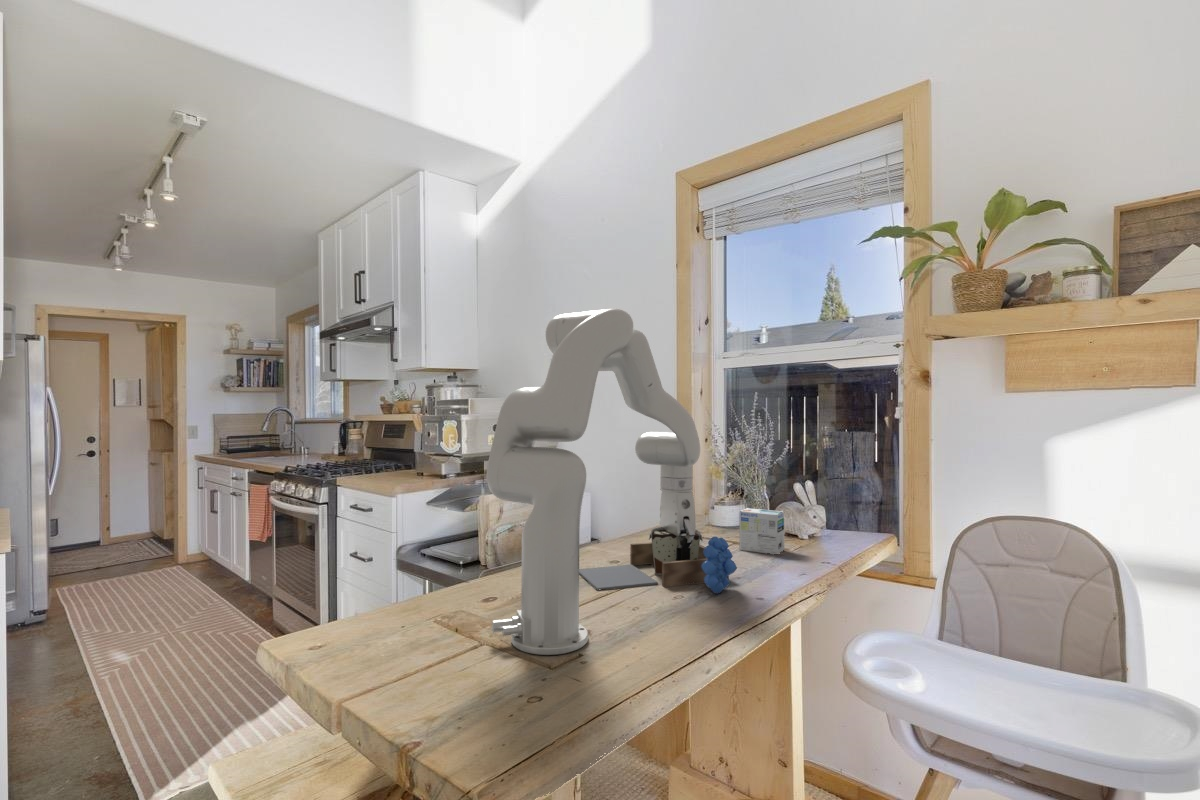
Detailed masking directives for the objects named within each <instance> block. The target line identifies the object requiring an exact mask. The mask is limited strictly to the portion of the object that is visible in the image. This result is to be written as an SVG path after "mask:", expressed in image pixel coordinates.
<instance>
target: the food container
mask: <svg viewBox="0 0 1200 800" xmlns="http://www.w3.org/2000/svg"><path fill="white" fill-rule="evenodd" d="M650 531H651V532H650V533H649V537H648V540H649V541H650V540H651V542H652V549H653V559H654V563H653V566H654V567H653V568H654V575H655V576H657V575H659V576H662V562H672V561H676V548H678V543H677V537H676V535H674V534H672V533H670V532H668V531H665V530H664V529H663V527H661V526H660V527H655V528H653V529H651V530H650ZM680 533H681V534H683V533H685V532H680ZM683 538H685V537H681V540H683ZM703 541H704V540H703V535H702V534H701V531H700V530H698V529H696V532H695V536H694V538H693V540H692V543H691V548H690V560H694V559H698V552H699V544H700V542H703ZM700 545H701V544H700Z"/></svg>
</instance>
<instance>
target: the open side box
mask: <svg viewBox="0 0 1200 800" xmlns="http://www.w3.org/2000/svg"><path fill="white" fill-rule="evenodd" d="M705 547H706V546H704V545H702V544H699V552H698V559H694V560H683V561H672V562H662V575H661V586H662V587H664V588H665V587H667V588H668V587H675V586H686V585H695V584H705V581H704V578H705V576H706V575H707V574H705V573H704V571H703V570H702V567H701V565H702V563H703V562H704V561H706V560H708V559H707V558H706V557H705V556H704V553H703V550H704V548H705ZM629 555H630V563H629V565H633V566H639V565H650V564H651V565H652V564H653V565H654V559H653V549H652V541H651V542H637V543H630V554H629ZM727 578H728V580H729V581H730V575H729V576H727Z"/></svg>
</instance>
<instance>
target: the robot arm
mask: <svg viewBox="0 0 1200 800" xmlns="http://www.w3.org/2000/svg"><path fill="white" fill-rule="evenodd" d="M645 335H646V334H644V333H643V332H642V331H640V330H637V329H635V328H634V321H633V318H632V316H631V315H630V314H629V313H628V312H627V311H625V310H623V309H621V308H607V309H606V308H605V309H598V310H597V309H596V310H595V309H594V310H587V311H581V312H580V311H579V312H578V311H577V312H571V313H569V312H568V313H563V314H559V315H556V316H554V317H552V319H550V321H549V322H548V324H547V326H546V328H545V342H546V344H547V346H548V349H549V350H550V351H551V353H552V356H551V359H550V363H549V368H548V371H547V374H546V378H545V381H544V382H543V385H541V386H529V387H528V386H527V387H521V388H518V389H515V390H513V391H512V392H510V394H509V395H507V397H506V398H505V400H504V402H503V403H502V406H501V407H500V411H499V414H498V418H497V421H496V422H497V423H496V427H495V430H494V435H493V439H492V443H491V448H490V451H489V457H488V462H487V467H486V483H487V486H488V489H489V491H490V493H491V494H492V495H493V496H494V497H495V498H498V499H499V500H502V501H506V502H513V503H519V504H520V503H521V504H527V505H533V508H532V510H531V512H530V514H529V515H528V517H527V519H526V521H525V523H524V525H523V528H522V532H521V533H522V534H521V587H520V588H521V589H520V590H521V591H520V595H521V596H520V597H521V599H520V602H521V603H520V609H516V615H513V616H510V618H506V619H504V618H499V619H492V620H491V631H492V633H499V632H501V635H502V636H503V637H505V636H511V637H510V638H511V639H510V640H511V643H512V645H513V647H515V648H516V649H518V650H520V651H521V652H525V653H529V654H532V655H540V656H541V655H542V656H543V655H544V656H553V655H554V656H555V655H563V654H567V653H571V652H574V651H577V650H579V649H582V647H584V646H585V645H586V644H587V643H588V640H589V632H588V630H587V628H586V627H584V626H583V625H582V624H581V623H580V575H579V569H580V540H581V539H580V531H581V529H580V528H581V527H580V526H581V525H580V524H581V516H582V515H581V514H582V513H581V512H582V506H583V499H584V496H585V495H584V494H585V489H586V485H587V484H586V483H587V470H586V466H585V463H584V461H583V460H582V458H581V457H580V456H579V455H577V453H575V452H573V451H572V450H567V449H564V448H556V447H541V446H540V447H539V446H535V443H536V442H547V443H548V442H549V443H550V442H552V443H570V442H576V441H578V440H579V439H581V438H582V437H583V436H584V434H585V432H586V430H587V427H588V423H589V419H590V413H591V408H592V404H593V398H594V393H595V388H596V383H597V377H598V375H599V372H613V373H614V376H615V378H616V381H617V383H618V386H619V388H620V391H621V394H622V395H621V396H623V400H624V402H625V404H626V405H627V407H629V408H630V409H631V410H632V411H635V412H636V413H639V414H641V415H644V416H645V417H647V418H650V419H653V420H655V421H657V422H659V423H661V424H663V425H664V426H666V427H667V428H669V430H670V431H654V430H653V431H647V432H644V433H642V434H641V435H640V436H639V437H638V438H637V440H636V442H635V454H636V457H637V459H638V460H639V461H641V463H644V464H646V465H650V466H651V465H652V466H660V473H659V474H660V476H659V477H660V485H659V486H660V492H661V493H660V507H659V508H660V509H659V526H660V527H663V529H664V530H665V531H668V532H670V533H672V534H674V535H676V537H677V543H678V548H676V561H683V560H690V548H691V543H692V540H693V538H694V536H695V532H696V530H697V529H696V528H697V527H696V507H695V498H694V493H693V490H694V489H693V486H694V484H693V483H694V482H693V481H694V480H693V478H694V476H693V475H694V474H693V472H694V469H693V468H694V465H695V464H696V463H697V462H698V461H699V459H700V456H701V443H700V438H699V434H698V431H697V427H696V424H695V421H694V419H693V417H692V415H691V414H690V412H689V411H688V409H686V408H685V407H684V405H682V404H681V403H680V402H679V401H678V400H677V399H676V398H674V397H673V395H671V394H670V393H668V392H667V391H666V390H665V388H663V384H662V382H661V379H660V376H659V372H658V369H657V365H656V362H655V359H654V356H653V353H652V351H651V346H650V344H649V341H648V339H647V337H646V336H645ZM680 532H685V533H683V534H681V533H680ZM681 537H685V538H683V540H681Z"/></svg>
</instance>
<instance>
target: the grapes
mask: <svg viewBox="0 0 1200 800" xmlns="http://www.w3.org/2000/svg"><path fill="white" fill-rule="evenodd" d="M707 544H708V545H707V546H704V547H705V548H704V550H703V553H704V556H705V557H706V558H707V559H708V560H706V561H704V562H703V563H702V565H701V567H702V570H703V571H704V573H705V574H707V575H706V576H705V578H704V581H705V583H704V584H705V586H707V587H708V588H709V589H711V591H712V592H713V593H714V594H720V593H721V592H723V590H724V589H726V588H727V587H728V586H729V585H730V584H731V582H730V579H729V580H728V578H727V576H729V577H730V575H732V574H734V573H735V571H737V569H738V566H737V564H736V562H735V561H734V560H732V558H733V557H734V556H733V554H732V552H731V550H730V549H729V547H730V545H729V543H728V542H727V540H726V539H725V538H723V537H718V536H712V537H711V538H709V540H708V542H707Z"/></svg>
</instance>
